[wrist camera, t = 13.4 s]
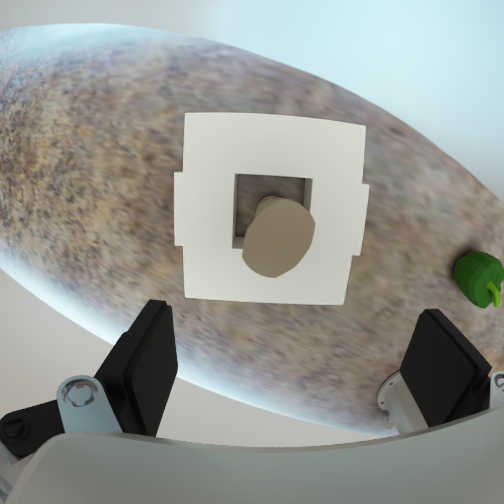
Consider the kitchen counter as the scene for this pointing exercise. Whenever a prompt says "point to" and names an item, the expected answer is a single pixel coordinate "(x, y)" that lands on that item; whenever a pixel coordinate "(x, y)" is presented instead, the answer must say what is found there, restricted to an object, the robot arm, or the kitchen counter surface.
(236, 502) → the robot arm
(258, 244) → the handle
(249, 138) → the socket block
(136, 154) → the kitchen counter surface
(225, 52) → the kitchen counter surface
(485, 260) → the bell pepper
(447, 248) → the kitchen counter surface
